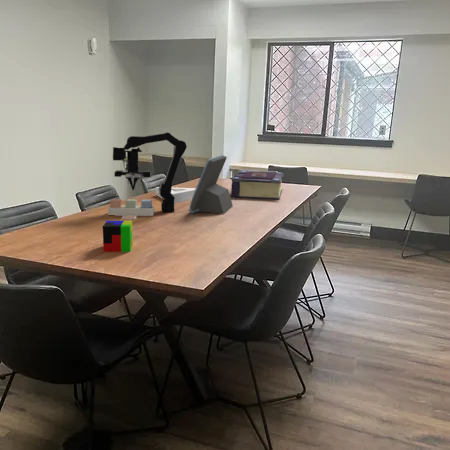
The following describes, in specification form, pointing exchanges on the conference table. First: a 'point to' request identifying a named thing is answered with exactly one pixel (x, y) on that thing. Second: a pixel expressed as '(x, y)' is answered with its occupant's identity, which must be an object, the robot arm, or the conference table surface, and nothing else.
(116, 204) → the terracotta key
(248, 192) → the book
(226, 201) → the touchscreen device
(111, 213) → the key console
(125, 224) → the puzzle toy
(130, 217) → the card
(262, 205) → the conference table surface
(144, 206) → the slate blue key
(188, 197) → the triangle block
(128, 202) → the sage green key
